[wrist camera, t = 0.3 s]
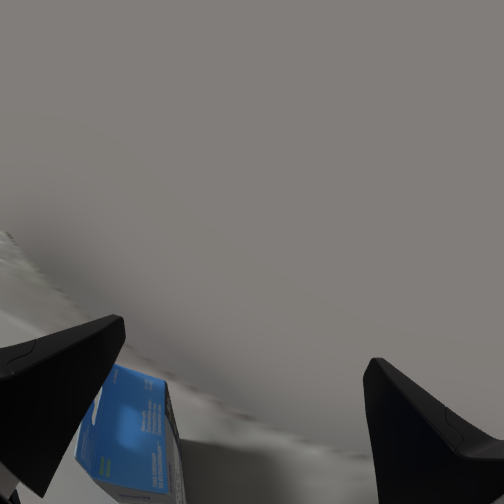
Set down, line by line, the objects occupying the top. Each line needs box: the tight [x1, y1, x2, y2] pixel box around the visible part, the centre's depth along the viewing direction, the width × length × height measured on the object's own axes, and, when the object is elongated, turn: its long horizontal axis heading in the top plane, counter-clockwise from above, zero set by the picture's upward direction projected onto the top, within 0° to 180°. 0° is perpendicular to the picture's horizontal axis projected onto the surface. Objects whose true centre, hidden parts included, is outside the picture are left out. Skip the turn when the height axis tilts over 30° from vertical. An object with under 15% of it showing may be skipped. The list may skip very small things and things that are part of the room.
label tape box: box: [74, 364, 187, 504], centre depth 13 cm, size 9×4×12 cm, turn 12°
